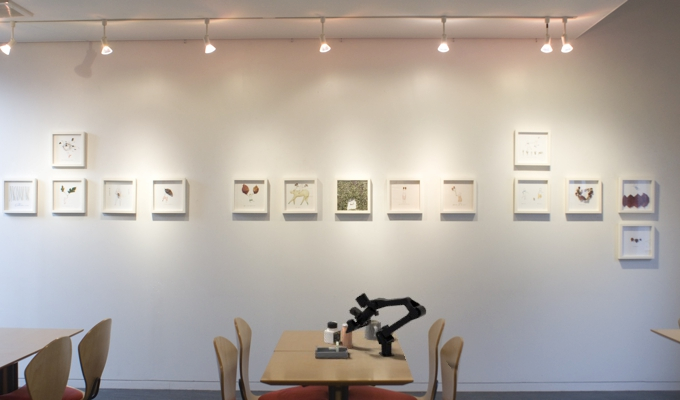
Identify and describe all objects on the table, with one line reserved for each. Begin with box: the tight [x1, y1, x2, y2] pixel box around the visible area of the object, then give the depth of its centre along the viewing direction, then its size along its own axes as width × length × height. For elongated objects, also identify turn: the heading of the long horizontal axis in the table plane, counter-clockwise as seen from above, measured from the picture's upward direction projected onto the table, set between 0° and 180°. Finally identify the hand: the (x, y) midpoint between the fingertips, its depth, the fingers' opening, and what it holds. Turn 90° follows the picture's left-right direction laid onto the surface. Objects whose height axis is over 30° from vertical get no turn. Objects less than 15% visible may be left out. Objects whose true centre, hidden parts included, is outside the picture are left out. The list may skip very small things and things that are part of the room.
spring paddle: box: [328, 342, 340, 352], centre depth 256 cm, size 5×7×6 cm
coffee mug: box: [364, 319, 382, 341], centre depth 289 cm, size 13×10×10 cm
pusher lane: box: [314, 345, 349, 359], centre depth 255 cm, size 18×10×4 cm, turn 92°
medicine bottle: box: [323, 320, 342, 345], centre depth 281 cm, size 7×7×12 cm
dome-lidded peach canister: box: [341, 322, 353, 349], centre depth 271 cm, size 6×6×13 cm
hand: (350, 331), depth 270 cm, fingers open, 9 cm apart
